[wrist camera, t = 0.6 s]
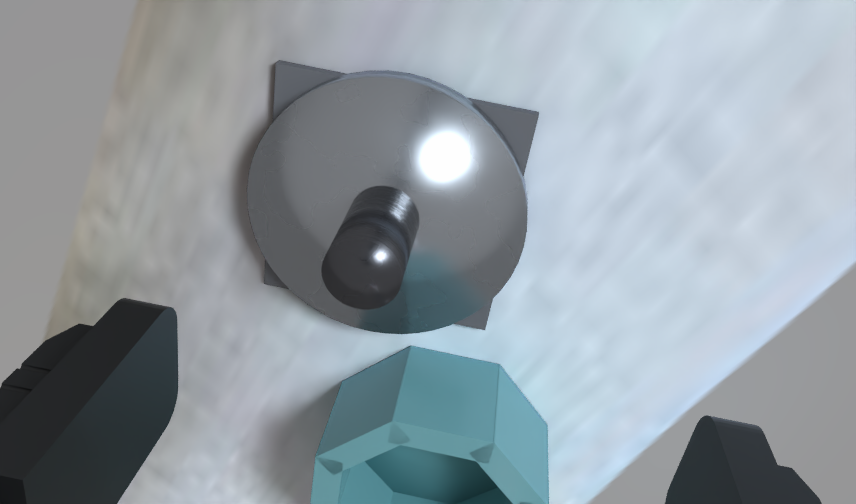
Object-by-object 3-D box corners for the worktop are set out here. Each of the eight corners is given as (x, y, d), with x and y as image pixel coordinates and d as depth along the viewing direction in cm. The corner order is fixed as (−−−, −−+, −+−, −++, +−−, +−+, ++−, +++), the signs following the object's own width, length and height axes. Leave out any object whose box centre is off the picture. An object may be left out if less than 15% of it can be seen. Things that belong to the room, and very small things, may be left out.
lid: (261, 44, 27) (203, 86, 22) (558, 103, 26) (563, 158, 22) (250, 292, 32) (202, 367, 28) (495, 343, 32) (488, 428, 27)
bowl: (348, 332, 33) (320, 405, 29) (563, 377, 33) (567, 458, 29) (329, 481, 38) (303, 563, 34) (514, 522, 38) (512, 609, 34)
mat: (278, 60, 27) (276, 63, 27) (538, 112, 27) (538, 115, 27) (266, 279, 32) (263, 283, 32) (485, 324, 32) (484, 330, 32)
